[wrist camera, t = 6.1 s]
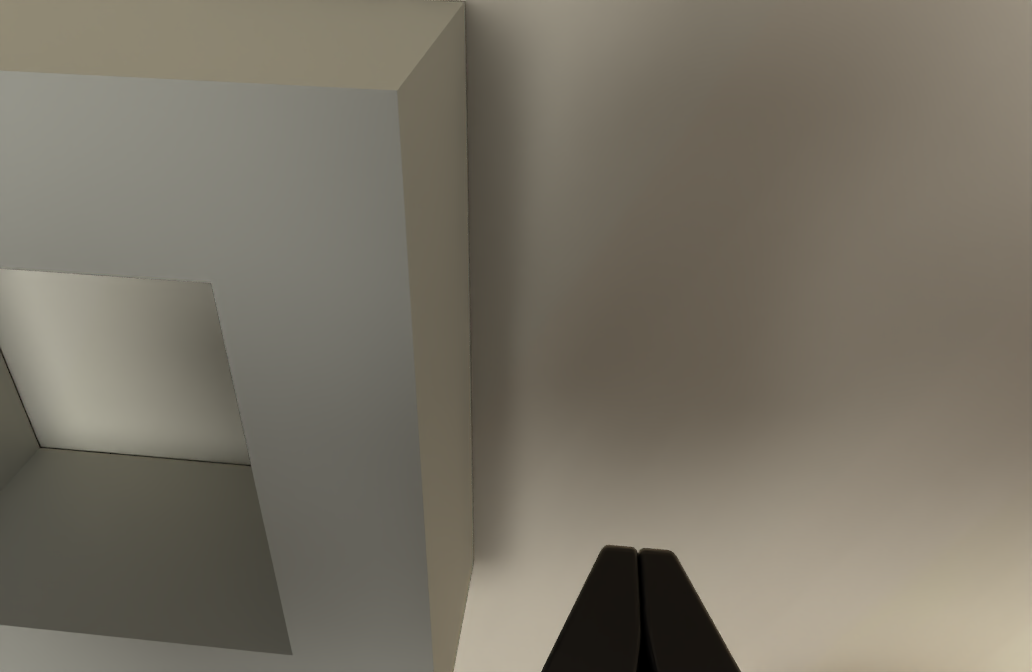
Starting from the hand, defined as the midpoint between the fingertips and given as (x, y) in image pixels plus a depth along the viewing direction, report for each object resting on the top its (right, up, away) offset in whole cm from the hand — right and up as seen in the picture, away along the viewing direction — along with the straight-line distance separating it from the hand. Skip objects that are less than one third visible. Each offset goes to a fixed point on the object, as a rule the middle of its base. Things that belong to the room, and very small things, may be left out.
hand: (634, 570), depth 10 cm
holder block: (-8, +3, +4) cm, 9 cm away
